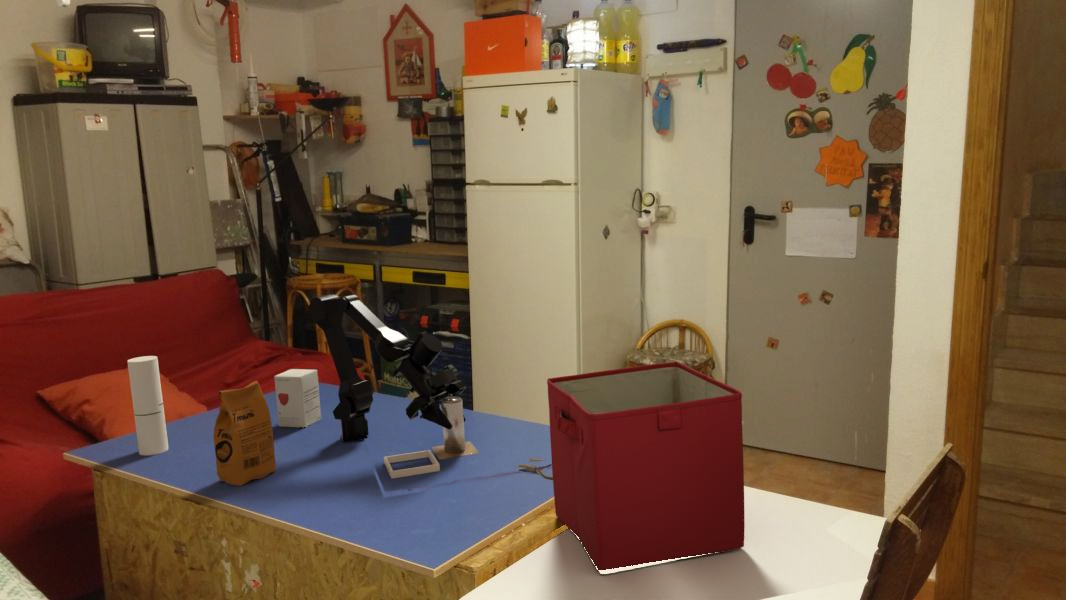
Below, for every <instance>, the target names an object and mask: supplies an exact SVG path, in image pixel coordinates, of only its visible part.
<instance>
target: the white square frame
mask: <svg viewBox="0 0 1066 600" xmlns="http://www.w3.org/2000/svg"><path fill="white" fill-rule="evenodd" d="M431 450H432V449H428V450H421V451H413V452H407V453H400V454H394V455H393V454H392V455H388V456H383V460H384V461H383V462H384V465H385V467H386V470H387V472H388V474H389V477H390V478H391V479H397V478H402V477H410V476H416V475H421V474H422V475H423V474H428V473H435V472H440V471H441V467H440V462H438V460H437V458H436V457H435V455H434V453H433V452H432V451H431ZM425 458H428V459H429V460H430V462H431V464H427V465H421V466H416V467H415V466H414V467H411V468H410V467H409V468H402V469H396V470H395V469H394V470H393V467H392V466H391V463H392V464H393V463H400V462H405V461H407V462H408V461H412V460H419V459H425Z"/></svg>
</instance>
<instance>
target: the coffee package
mask: <svg viewBox="0 0 1066 600" xmlns="http://www.w3.org/2000/svg"><path fill="white" fill-rule="evenodd" d="M218 397H220V400H221V402H220V405H219V409H218V414H217V417H216V419H215V423H214V427H213V443H214V455H215V465H216V476H217V477H218V480H220V481H221V482H225V483H226V484H230V485H232V486H239V487H240V486H243V485H244V484H247V483H249V482H251V481H252V480H261V479H262V478H265V477H267V476H268V475H270V474H271V473H273V472H276V470H277V468H276V467H277V463H276V455H275V444H274V442H275V441H274V433H273V427H272V425H273V424H272V418H271V413H270V412H271V411H270V408H269V405H268V403H267V400H266V398H265V396H264V392H263V391H262V387H261V386H260V384H259V381H258V380H255V381H253V382H251V383H249V384H247V386H244V387H243V388H236V389H235V388H234V389H226V390H219V391H218Z"/></svg>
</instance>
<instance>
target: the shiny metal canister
mask: <svg viewBox="0 0 1066 600" xmlns="http://www.w3.org/2000/svg"><path fill="white" fill-rule="evenodd" d="M440 403H441V404H440V405H441V407H440V409H441V411H442V412H443V413H444V415H445V416H446V418H447V419H448V420H449V422H450V423H451V425H452V428H451V429H450V430H449V429H447V428H445V427H442V433H443V434H442V435H443V445H444V451H445V452H446V453H450V454H456V453H461V452H463V451H465V442H466V440H465V439H466V438H465V437H466V436H465V435H466V434H465V422H464V418H463V414H464V406H463V405H464V404H463V399H462V397H461V396H459V397H446V398H443V399H442V401H440Z"/></svg>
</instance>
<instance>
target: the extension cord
mask: <svg viewBox="0 0 1066 600" xmlns="http://www.w3.org/2000/svg"><path fill="white" fill-rule="evenodd" d="M543 461H547V459H543V458H529V463H530V462H543ZM550 466H551V467H552V463H551V464H547V465H545V466H543V467H541V468H539V470H538V468H537V465H533V464H527V463H525V464H523V463H522V464H521V463H519V465H518V467H519V468H522V469H518V472H525V473H537V475H538V476H540V477H542V476H543V477H544V478H546V479H547V480H548V479H549V480H553V476H549V475H545V473H543V471H542V470H544V469H545V468H548V467H550Z"/></svg>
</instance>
